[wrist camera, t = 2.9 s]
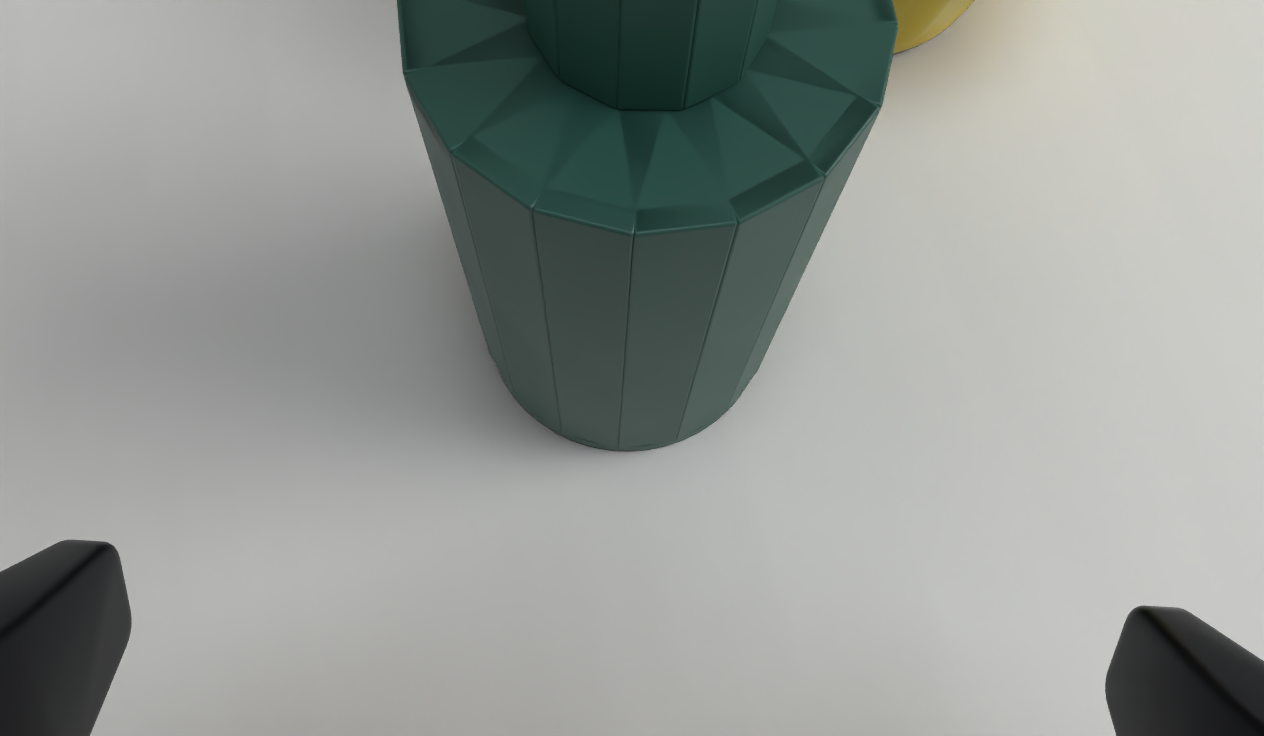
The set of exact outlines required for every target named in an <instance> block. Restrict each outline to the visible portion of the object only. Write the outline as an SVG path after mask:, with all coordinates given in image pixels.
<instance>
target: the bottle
mask: <svg viewBox="0 0 1264 736" xmlns="http://www.w3.org/2000/svg"><path fill="white" fill-rule="evenodd" d="M397 8H398V20H399V33H400V45H401V57H402V70H403V75H404V78H405V82H406V85H407V88H408V91H409V94H410V98H411V101H412V104H413V107H414V111H415V114H416V117H417V120H418V124H419V127H420V130H421V133H422V137H423V140H424V143H425V146H426V150H427V153H428V156H429V159H430V163H431V166H432V169H433V172H434V176H435V179H436V182H437V185H438V188H439V192H440V195H441V198H442V201H443V205H444V208H445V211H446V214H447V218H448V221H449V224H450V227H451V231H452V234H453V237H454V240H455V244H456V247H457V250H458V253H459V257H460V260H461V263H462V266H463V270H464V273H465V276H466V279H467V282H468V286H469V289H470V292H471V295H472V299H473V302H474V305H475V308H476V312H477V315H478V318H479V321H480V325H481V328H482V331H483V334H484V338H485V341H486V344H487V347H488V350H489V354H490V355H491V357H492V359H493V361H494V362H495V364H496V367H497V369H498V371H499V373H500V375H501V377H502V379H503V381H504V383H505V384H506V386H507V387H508V389H509V390H510V392H511V393H512V395H513V396H514V397H515V399H516V400H517V401H518V402H519V403H520V404H521V405H522V406H523V408H524V409H525V410H526V411H527V412H528V413H530V414H531V415H532V416H533V417H534V418H535V419H537V420H538V421H539V422H540V423H542V424H543V425H545V426H546V427H548V428H549V429H551V430H552V431H554V432H556V433H558V434H560V435H562V436H564V437H566V438H568V439H570V440H572V441H575V442H578V443H581V444H584V445H587V446H591V447H596V448H601V449H606V450H618V451H637V450H648V449H653V448H659V447H664V446H667V445H670V444H673V443H676V442H679V441H682V440H684V439H686V438H688V437H690V436H693V435H695V434H697V433H699V432H700V431H702V430H703V429H705V428H706V427H708V426H709V425H711V424H712V423H714V422H715V421H716V420H717V419H719V418H720V417H721V416H722V415H723V414H724V413H725V412H727V411H728V410H729V408H730V407H731V406H732V405H733V404H734V403H735V402H736V400H737V399H738V398H739V397H740V395H741V394H742V392H743V391H744V389H745V388H746V386H747V385H748V383H749V381H750V380H751V379H752V377H753V376H754V375H755V373H756V372H757V371H758V368H759V366H760V364H761V362H762V360H763V358H764V356H765V354H766V351H767V349H768V347H769V345H770V343H771V341H772V339H773V337H774V334H775V332H776V330H777V328H778V326H779V324H780V322H781V320H782V317H783V315H784V313H785V311H786V309H787V307H788V305H789V303H790V300H791V298H792V296H793V294H794V292H795V290H796V288H797V286H798V283H799V281H800V279H801V277H802V275H803V273H804V271H805V269H806V266H807V264H808V262H809V260H810V258H811V256H812V254H813V252H814V249H815V247H816V245H817V243H818V241H819V239H820V237H821V235H822V232H823V230H824V228H825V226H826V224H827V222H828V220H829V218H830V215H831V213H832V211H833V209H834V207H835V205H836V203H837V201H838V198H839V196H840V194H841V192H842V190H843V188H844V186H845V184H846V181H847V179H848V177H849V175H850V173H851V171H852V169H853V167H854V164H855V162H856V160H857V158H858V156H859V154H860V152H861V150H862V147H863V145H864V143H865V141H866V139H867V137H868V135H869V133H870V130H871V128H872V126H873V124H874V122H875V120H876V118H877V116H878V113H879V111H880V109H881V107H882V104H883V100H884V95H885V90H886V85H887V81H888V76H889V71H890V66H891V62H892V57H893V52H894V48H895V43H896V38H897V33H898V20H897V16H896V12H895V9H894V5H893V1H892V0H397Z"/></svg>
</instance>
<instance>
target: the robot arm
mask: <svg viewBox="0 0 1264 736" xmlns="http://www.w3.org/2000/svg"><path fill="white" fill-rule="evenodd" d="M130 632H131V610H130V605H129V600H128V595H127V591H126V586H125V581H124V576H123V571H122V566H121V561H120V557H119V554H118V551H117V550H116V548H115V547H114V546H113V545H111V544H110V543H108V542H101V541H85V540H64V541H61V542H58V543H56V544H54V545H52V546H50V547H48V548H46V549H44V550H42V551H40V552H39V553H37V554H35V555H33V556H31V557H29V558H27V559H25V560H23V561H21V562H19V563H17V564H15V565H13V566H11V567H9V568H7V569H5V570H3V571H1V572H0V736H90V734H91V732H92V729H93V727H94V724H95V722H96V719H97V717H98V714H99V712H100V710H101V707H102V705H103V702H104V700H105V697H106V695H107V692H108V690H109V688H110V685H111V683H112V680H113V678H114V675H115V673H116V670H117V668H118V666H119V663H120V661H121V658H122V656H123V653H124V651H125V648H126V646H127V643H128V640H129V636H130ZM1105 692H1106V700H1107V704H1108V708H1109V711H1110V715H1111V718H1112V722H1113V725H1114V729H1115V732H1116V736H1264V661H1263V660H1261V659H1260V658H1258V657H1257V656H1255V655H1254V654H1252V653H1250V652H1249V651H1247V650H1246V649H1244V648H1243V647H1241V646H1240V645H1238V644H1237V643H1235V642H1234V641H1232V640H1231V639H1229V638H1228V637H1226V636H1225V635H1223V634H1222V633H1220V632H1219V631H1217V630H1216V629H1214V628H1213V627H1211V626H1210V625H1208V624H1207V623H1205V622H1204V621H1202V620H1200V619H1199V618H1197V617H1196V616H1194V615H1193V614H1191V613H1190V612H1188V611H1186V610H1184V609H1181V608H1174V607H1158V606H1139V607H1136V608H1134V609H1133V610H1132V611H1131V612H1130V613H1129V615H1128V617H1127V619H1126V621H1125V624H1124V627H1123V630H1122V632H1121V635H1120V638H1119V641H1118V644H1117V646H1116V649H1115V652H1114V655H1113V658H1112V660H1111V663H1110V666H1109V669H1108V672H1107V676H1106V683H1105Z"/></svg>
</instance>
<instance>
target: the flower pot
mask: <svg viewBox="0 0 1264 736" xmlns="http://www.w3.org/2000/svg"><path fill="white" fill-rule="evenodd" d="M892 1H893V5H894V9H895V12H896V16H897V20H898V33H897V38H896V43H895V48H894V52H893V53H897V52H900V51H904V50H907V49H910V48H913V47H916V46H918V45H920V44H922V43H924V42H927V41H928V40H930V39H932V38H933V37H935V36H937V35H938V34H940V33H941V32H942V31H944V30H945V29H946V28H948V27H949V26H950V25H951V24H952V23H953V22H954V21H955V20H956V19H957V18H958V17H959V16H960V15H961V14H962V13H963V12H964V11H965V10H966V9H967V8H968V7H969V6H970V5H971V4H972V3H973V1H974V0H892Z"/></svg>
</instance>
